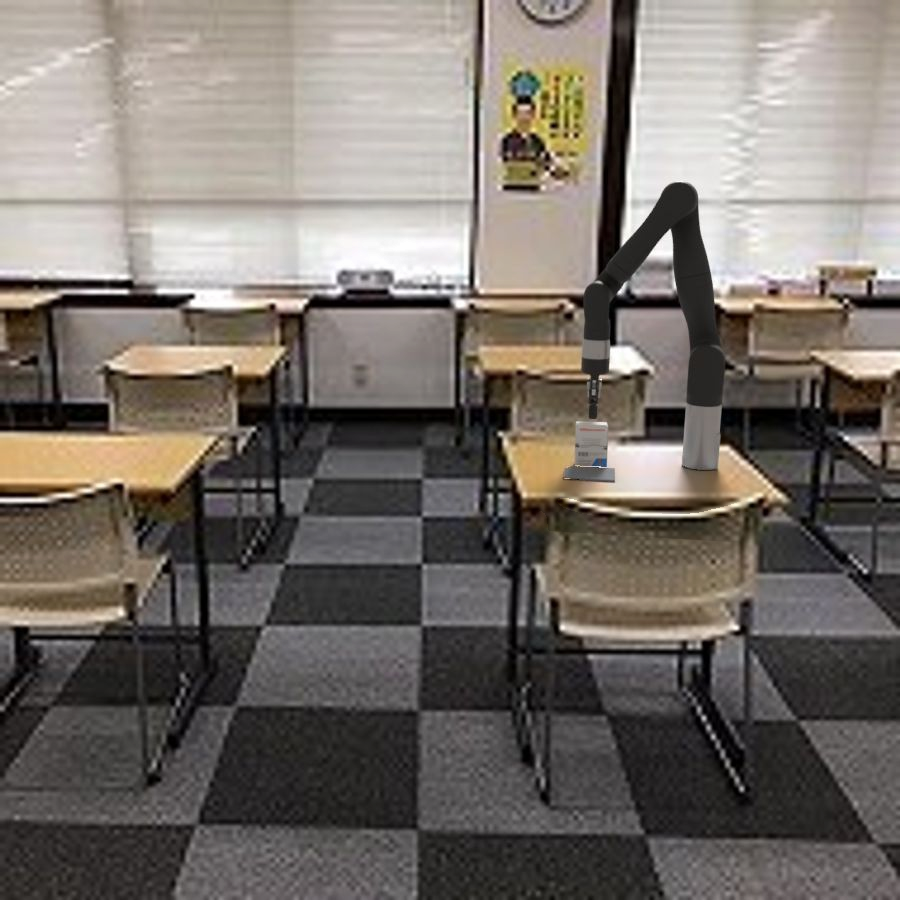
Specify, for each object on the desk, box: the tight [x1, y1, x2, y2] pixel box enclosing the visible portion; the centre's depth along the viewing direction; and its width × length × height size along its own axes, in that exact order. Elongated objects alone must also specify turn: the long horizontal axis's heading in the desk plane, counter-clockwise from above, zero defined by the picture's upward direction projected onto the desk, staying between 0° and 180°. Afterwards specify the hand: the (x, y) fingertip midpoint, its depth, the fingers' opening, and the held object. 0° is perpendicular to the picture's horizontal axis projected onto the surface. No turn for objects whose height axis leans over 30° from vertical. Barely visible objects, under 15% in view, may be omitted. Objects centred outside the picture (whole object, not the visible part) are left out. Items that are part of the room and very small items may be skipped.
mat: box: [562, 465, 616, 483], centre depth 271 cm, size 13×12×1 cm
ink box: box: [574, 420, 609, 468], centre depth 279 cm, size 9×5×12 cm, turn 84°
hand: (592, 418), depth 286 cm, fingers closed
